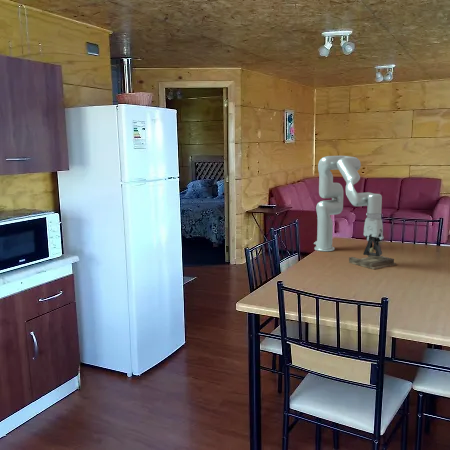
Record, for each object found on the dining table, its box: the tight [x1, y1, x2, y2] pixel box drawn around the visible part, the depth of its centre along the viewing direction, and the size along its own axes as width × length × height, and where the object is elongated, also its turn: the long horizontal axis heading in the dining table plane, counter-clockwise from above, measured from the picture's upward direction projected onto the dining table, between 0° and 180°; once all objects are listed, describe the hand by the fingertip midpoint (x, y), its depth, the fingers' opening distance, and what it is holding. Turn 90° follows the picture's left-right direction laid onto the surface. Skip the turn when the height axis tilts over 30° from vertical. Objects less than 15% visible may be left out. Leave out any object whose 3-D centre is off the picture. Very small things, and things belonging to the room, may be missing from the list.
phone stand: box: [363, 234, 383, 256], centre depth 264 cm, size 9×6×12 cm, turn 58°
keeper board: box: [348, 246, 397, 270], centre depth 266 cm, size 18×18×7 cm
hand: (372, 248), depth 265 cm, fingers closed on phone stand, 3 cm apart
